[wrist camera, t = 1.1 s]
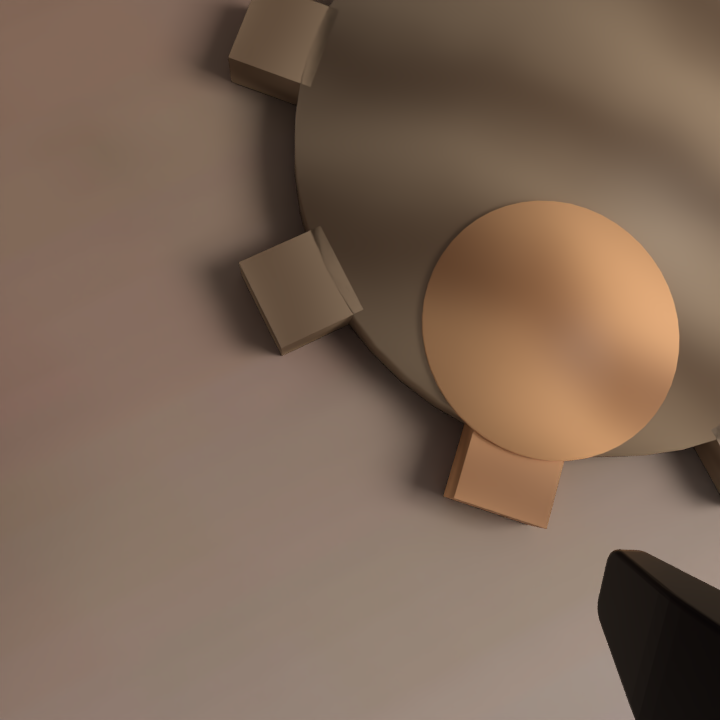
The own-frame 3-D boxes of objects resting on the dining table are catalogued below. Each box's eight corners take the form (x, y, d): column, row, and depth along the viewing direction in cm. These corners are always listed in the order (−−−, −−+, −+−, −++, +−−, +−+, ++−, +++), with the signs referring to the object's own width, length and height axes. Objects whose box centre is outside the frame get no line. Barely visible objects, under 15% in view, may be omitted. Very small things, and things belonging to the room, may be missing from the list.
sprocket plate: (841, 628, 24) (883, 640, 22) (109, 385, 23) (95, 378, 21) (949, -3, 29) (990, -31, 27) (358, -233, 28) (362, -278, 26)
